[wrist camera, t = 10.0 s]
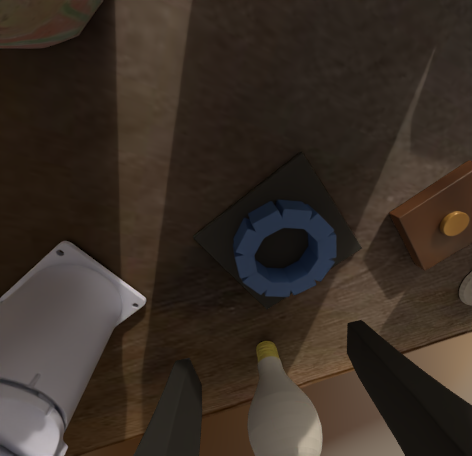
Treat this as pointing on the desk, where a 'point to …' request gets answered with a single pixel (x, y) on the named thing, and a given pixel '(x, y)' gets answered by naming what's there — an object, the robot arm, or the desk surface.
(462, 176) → the platform
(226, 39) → the desk surface
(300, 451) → the light bulb
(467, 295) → the figurine
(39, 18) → the potted plant
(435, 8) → the desk surface
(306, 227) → the ring
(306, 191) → the mat
